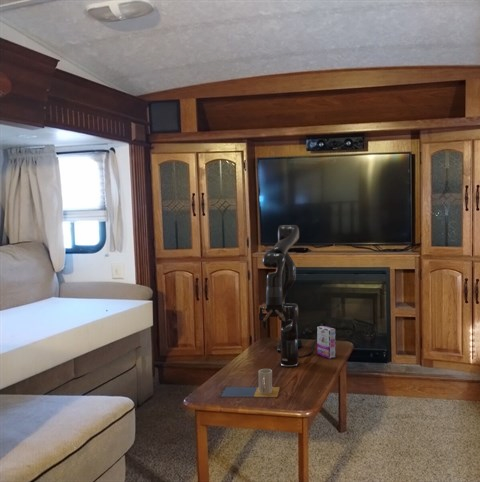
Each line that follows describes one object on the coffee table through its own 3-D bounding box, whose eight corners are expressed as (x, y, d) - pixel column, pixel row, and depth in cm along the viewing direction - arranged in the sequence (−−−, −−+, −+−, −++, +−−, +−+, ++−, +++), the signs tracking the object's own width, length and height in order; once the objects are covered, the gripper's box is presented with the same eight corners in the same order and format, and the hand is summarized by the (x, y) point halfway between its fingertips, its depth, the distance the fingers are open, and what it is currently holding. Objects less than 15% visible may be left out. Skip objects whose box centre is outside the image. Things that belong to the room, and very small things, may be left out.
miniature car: (303, 346, 270) (303, 333, 269) (289, 354, 253) (289, 340, 253) (290, 344, 273) (290, 331, 273) (275, 352, 257) (275, 339, 256)
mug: (259, 389, 200) (259, 368, 200) (272, 389, 200) (272, 368, 200) (256, 396, 191) (256, 375, 191) (270, 397, 191) (270, 375, 191)
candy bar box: (336, 357, 247) (336, 328, 247) (329, 359, 244) (329, 330, 243) (323, 352, 256) (323, 325, 255) (316, 354, 253) (316, 326, 252)
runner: (226, 387, 203) (226, 387, 203) (279, 387, 203) (279, 387, 203) (220, 397, 192) (220, 396, 192) (277, 397, 192) (277, 396, 192)
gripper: (289, 293, 211) (290, 326, 212) (260, 293, 211) (260, 326, 212) (288, 296, 203) (288, 330, 204) (258, 296, 204) (258, 330, 204)
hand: (274, 328), depth 208 cm, fingers open, 8 cm apart
